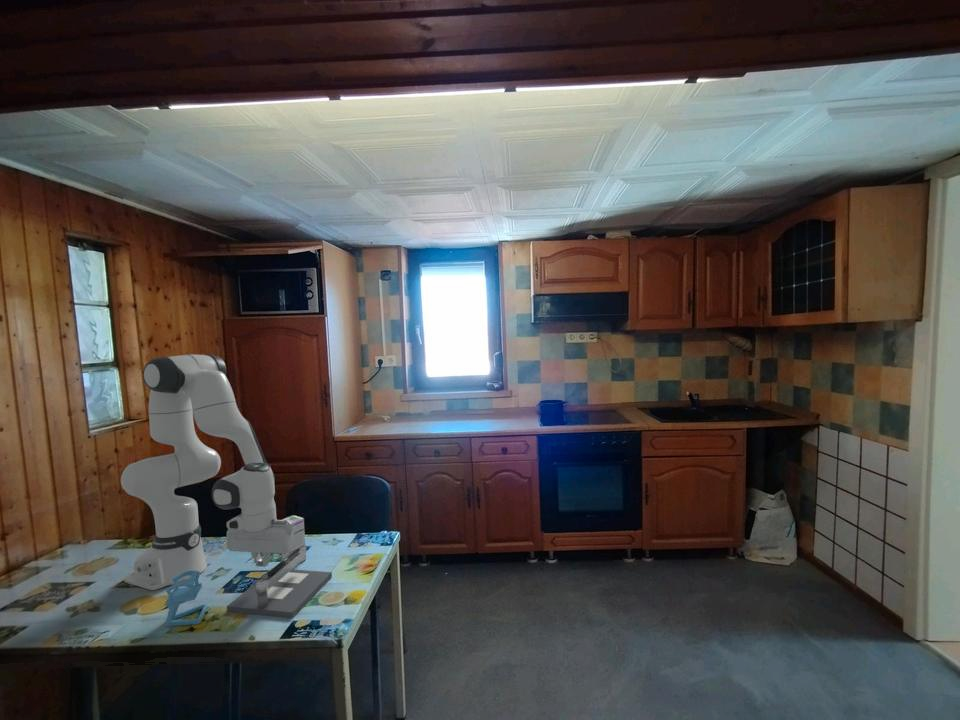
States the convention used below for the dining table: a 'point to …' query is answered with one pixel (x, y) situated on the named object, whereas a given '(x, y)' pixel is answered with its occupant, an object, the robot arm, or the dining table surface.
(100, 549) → the dining table surface
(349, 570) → the dining table surface
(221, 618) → the dining table surface
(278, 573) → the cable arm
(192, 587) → the chair
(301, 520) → the syrup box
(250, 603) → the grey base plate
